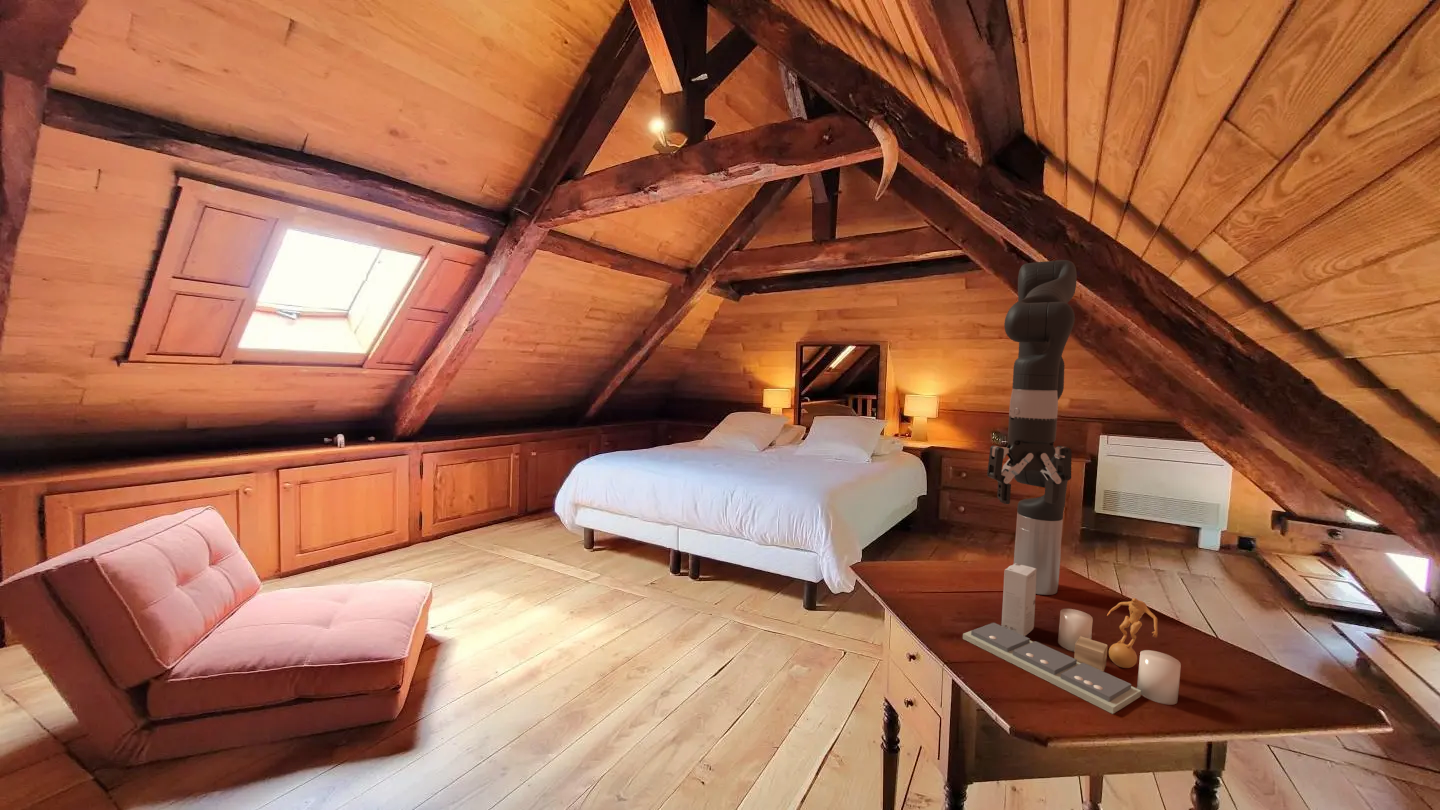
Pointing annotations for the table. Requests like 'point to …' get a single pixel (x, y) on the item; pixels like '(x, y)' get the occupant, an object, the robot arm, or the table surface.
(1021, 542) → the robot arm
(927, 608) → the table surface
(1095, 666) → the beech block
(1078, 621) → the white rounded cylinder
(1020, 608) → the skincare box
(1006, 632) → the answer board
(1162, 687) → the white pillar candle
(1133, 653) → the figurine
